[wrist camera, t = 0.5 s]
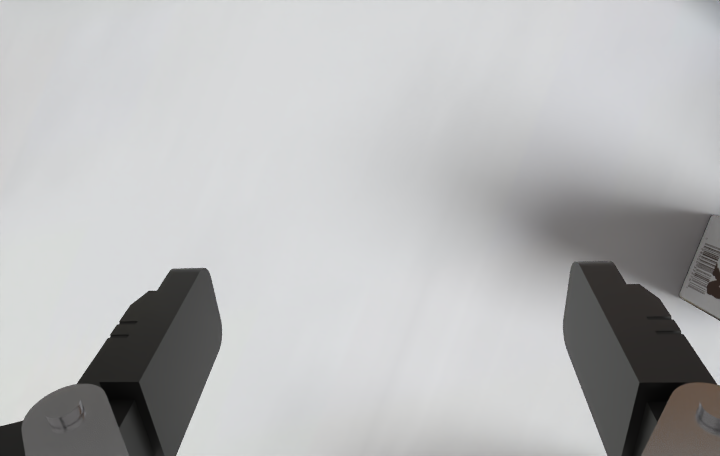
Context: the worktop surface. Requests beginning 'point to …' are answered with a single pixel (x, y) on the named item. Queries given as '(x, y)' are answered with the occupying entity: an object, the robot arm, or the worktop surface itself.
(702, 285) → the coffee box
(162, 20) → the worktop surface
